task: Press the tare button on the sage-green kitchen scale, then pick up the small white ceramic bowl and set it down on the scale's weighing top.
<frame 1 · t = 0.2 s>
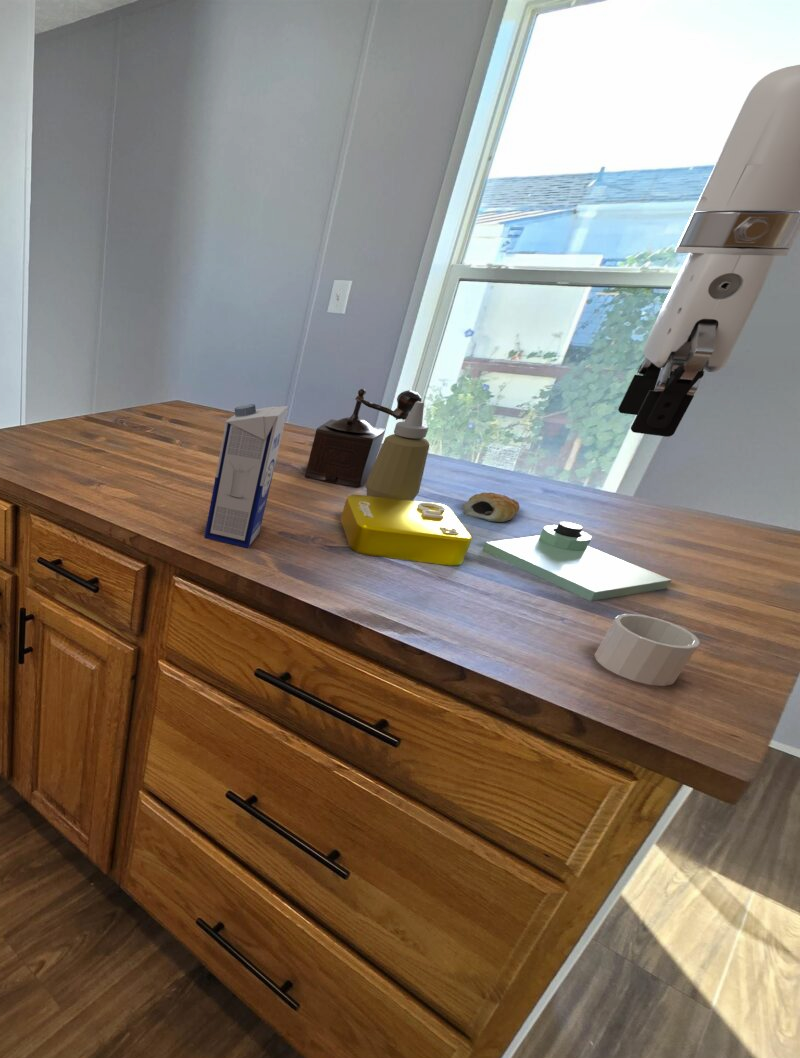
hand: (642, 423, 68), 24 cm above the counter, tool pointing down, fingers open, 9 cm apart
squeeze bottle: (384, 508, 113), on the counter
scale: (569, 568, 94), on the counter
pastry: (488, 516, 111), on the counter
milk carton: (231, 536, 102), on the counter
small bowl: (630, 672, 71), on the counter
manual coffee grinder: (350, 480, 126), on the counter
tare button: (568, 530, 97), point 3 cm above the counter, slide at 0.1 cm
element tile: (396, 542, 101), on the counter
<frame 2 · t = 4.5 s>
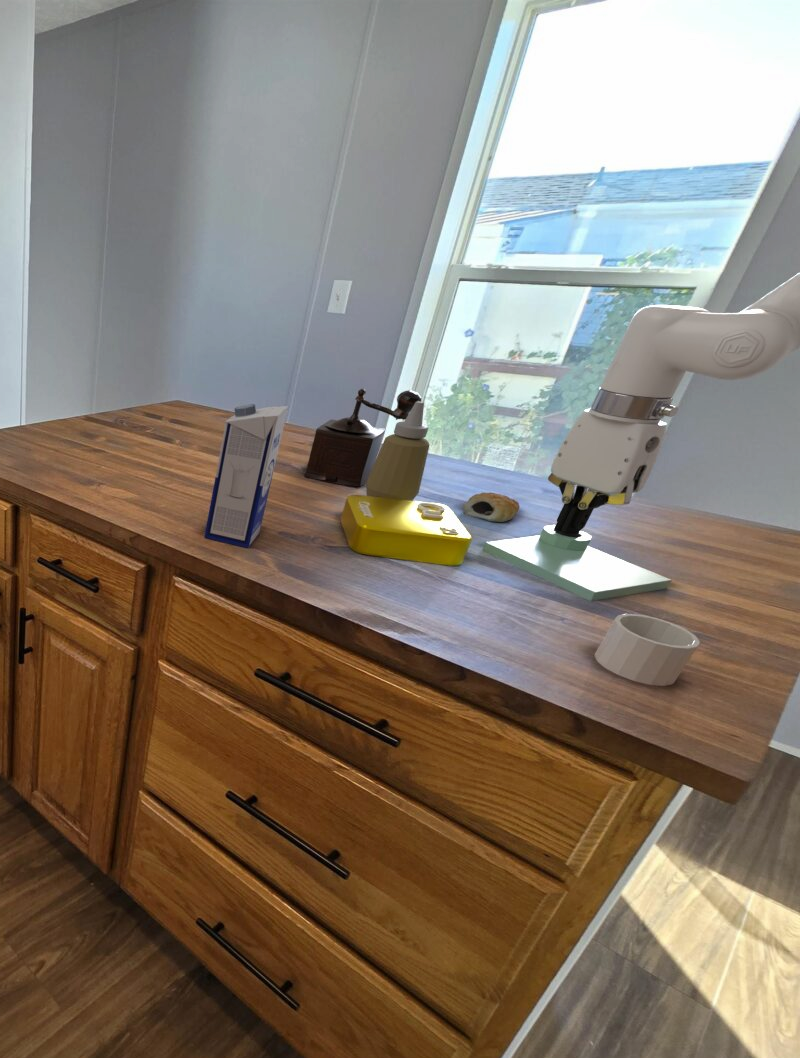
hand: (566, 530, 97), 3 cm above the counter, tool pointing down, fingers closed
tare button: (565, 535, 98), point 2 cm above the counter, slide at -0.8 cm, touching gripper
everything else where it was.
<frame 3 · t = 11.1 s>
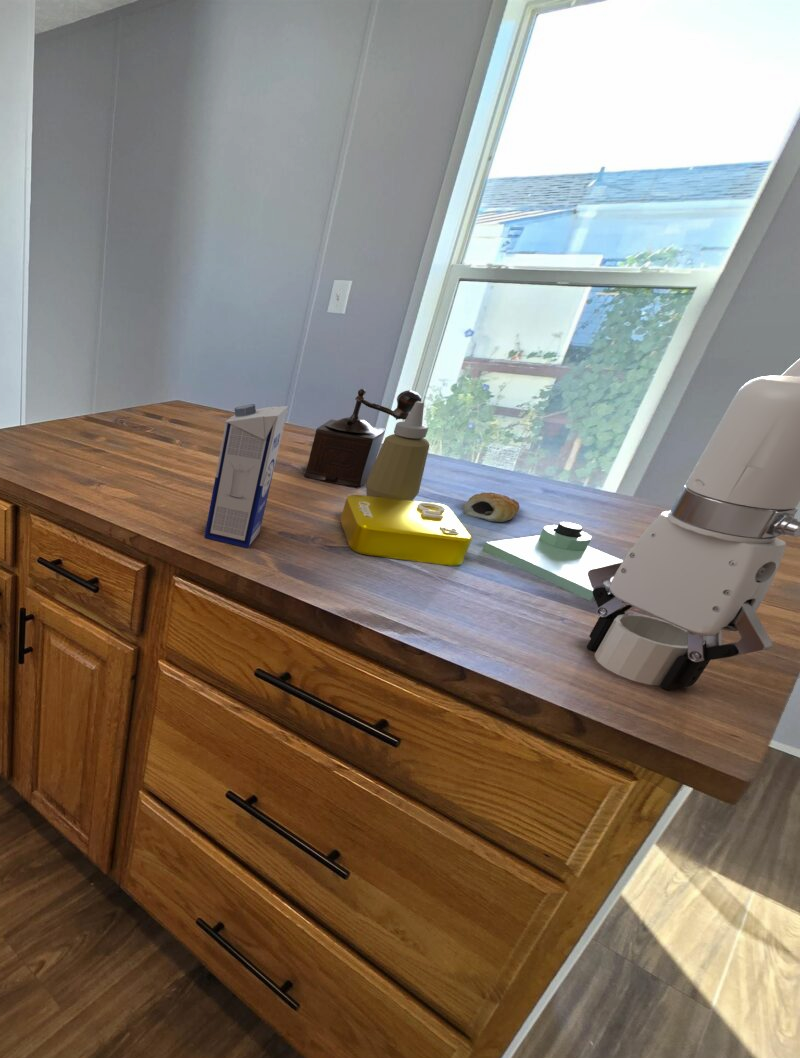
hand: (634, 665, 71), 1 cm above the counter, tool pointing down, fingers closed on small bowl, 6 cm apart
small bowl: (630, 672, 71), on the counter, touching gripper
tare button: (568, 530, 97), point 3 cm above the counter, slide at 0.1 cm
everything else where it was.
when the fingers open (2 cm above the counter, at t = 20.4 s): small bowl stays where it is, resting on scale.
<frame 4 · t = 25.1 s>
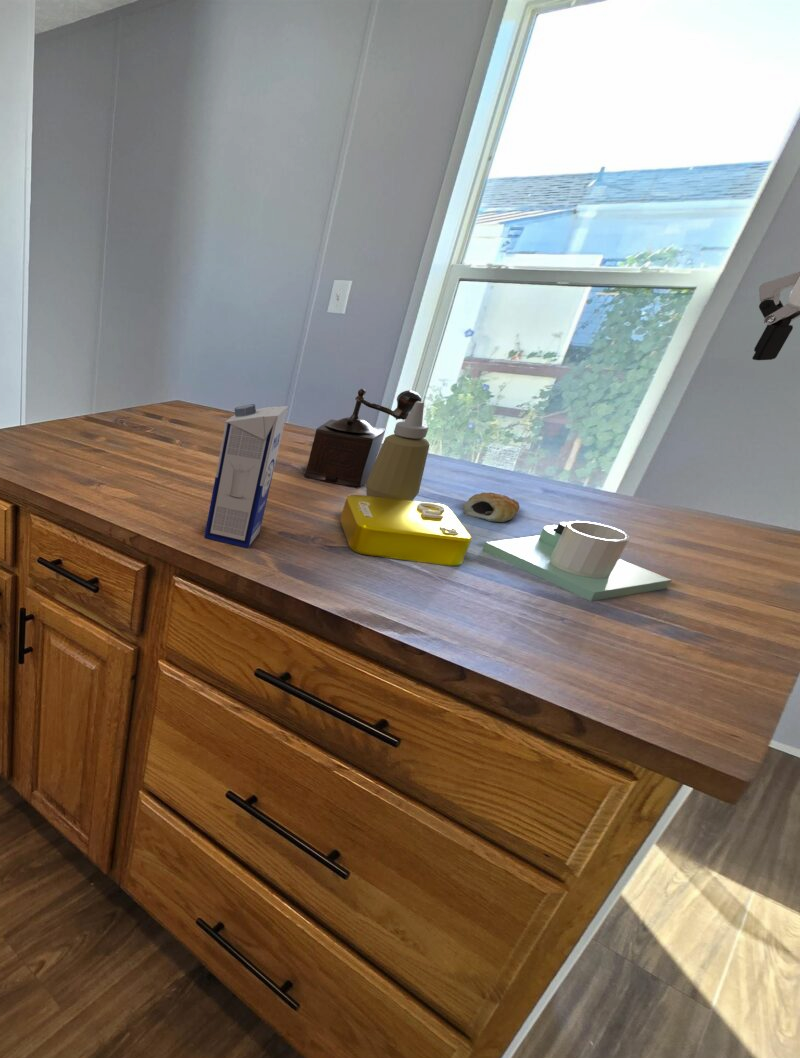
small bowl: (579, 567, 91), point 1 cm above the counter, touching scale
everything else where it was.
at the end: tare button pushed in 0.9 cm at the most during the clip, back to where it started at the end; small bowl 0.1 cm from the target spot on the scale, point 1.4 cm above the scale's base; small bowl touching scale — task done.
